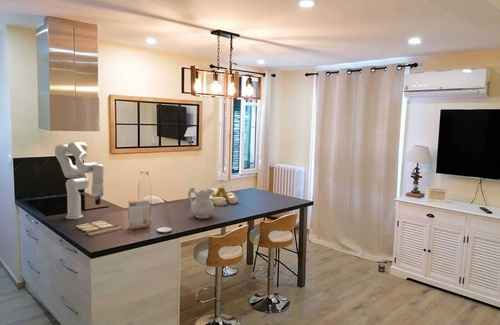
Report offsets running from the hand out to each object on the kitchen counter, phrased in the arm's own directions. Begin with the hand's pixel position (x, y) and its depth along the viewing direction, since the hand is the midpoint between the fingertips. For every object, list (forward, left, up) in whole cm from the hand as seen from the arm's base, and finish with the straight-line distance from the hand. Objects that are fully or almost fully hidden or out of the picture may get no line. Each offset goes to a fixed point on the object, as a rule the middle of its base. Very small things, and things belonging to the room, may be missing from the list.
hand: (97, 204), depth 277 cm
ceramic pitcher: (+36, +73, -16) cm, 82 cm away
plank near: (+7, -11, -15) cm, 20 cm away
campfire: (+7, +123, -16) cm, 125 cm away
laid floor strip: (+20, -5, -16) cm, 26 cm away
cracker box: (+28, +18, -16) cm, 36 cm away
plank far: (+6, 0, -15) cm, 17 cm away
